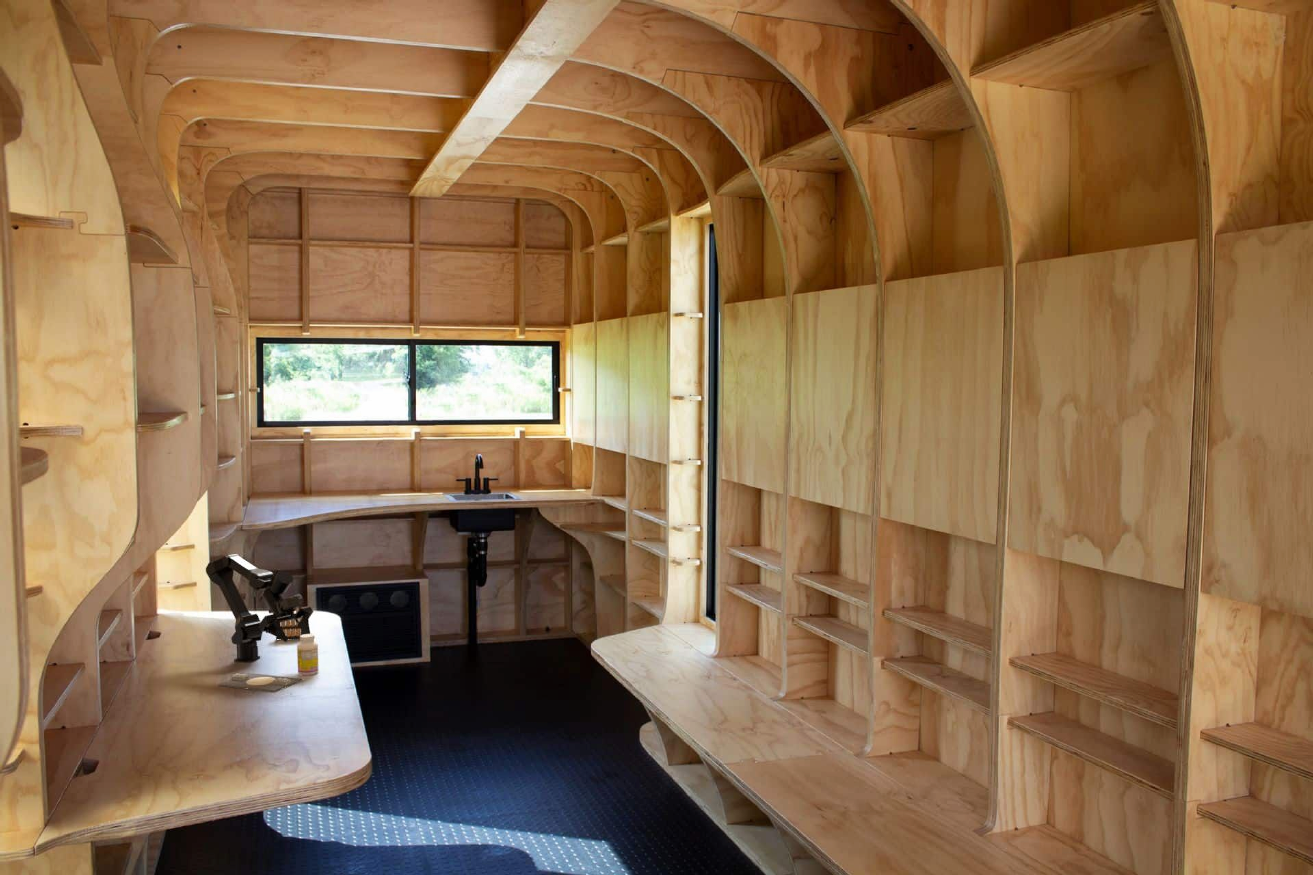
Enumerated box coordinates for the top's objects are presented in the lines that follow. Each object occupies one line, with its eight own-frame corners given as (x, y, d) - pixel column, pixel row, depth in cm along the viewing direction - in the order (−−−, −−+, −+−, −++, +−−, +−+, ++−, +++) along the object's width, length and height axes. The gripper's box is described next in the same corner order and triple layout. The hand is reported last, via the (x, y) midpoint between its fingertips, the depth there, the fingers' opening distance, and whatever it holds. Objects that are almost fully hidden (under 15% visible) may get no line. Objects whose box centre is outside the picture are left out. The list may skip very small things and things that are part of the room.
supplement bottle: (300, 670, 375) (299, 633, 375) (320, 670, 376) (319, 632, 375) (295, 676, 369) (294, 638, 368) (316, 675, 369) (315, 637, 369)
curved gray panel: (218, 685, 358) (218, 679, 358) (248, 674, 371) (248, 668, 371) (274, 692, 350) (274, 685, 350) (302, 680, 364) (302, 673, 363)
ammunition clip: (305, 637, 423) (304, 606, 422) (305, 638, 421) (304, 607, 420) (276, 639, 420) (275, 608, 419) (275, 640, 418) (275, 609, 418)
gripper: (263, 592, 369) (285, 629, 363) (309, 583, 384) (331, 618, 379) (249, 613, 373) (271, 649, 368) (295, 603, 389) (316, 638, 383)
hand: (298, 638), depth 374 cm, fingers open, 9 cm apart
